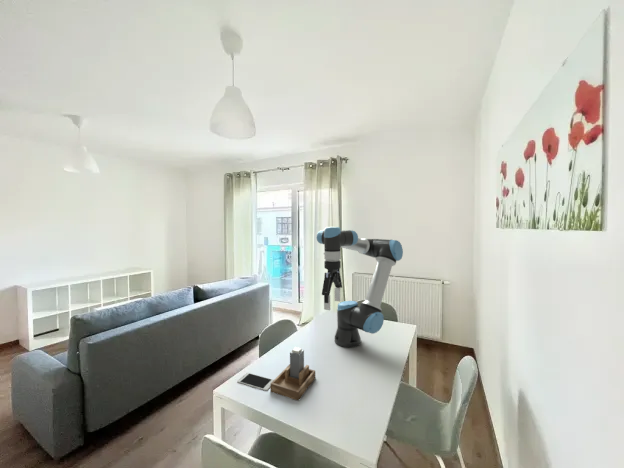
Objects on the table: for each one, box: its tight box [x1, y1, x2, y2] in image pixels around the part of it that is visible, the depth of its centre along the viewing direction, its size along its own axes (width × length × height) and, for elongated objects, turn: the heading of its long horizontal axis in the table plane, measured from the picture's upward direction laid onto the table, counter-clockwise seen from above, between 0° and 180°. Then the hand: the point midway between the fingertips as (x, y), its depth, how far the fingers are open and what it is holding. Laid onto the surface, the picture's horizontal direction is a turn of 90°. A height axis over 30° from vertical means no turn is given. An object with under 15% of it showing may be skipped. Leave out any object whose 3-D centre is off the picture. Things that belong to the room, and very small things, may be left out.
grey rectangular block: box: [289, 346, 305, 379], centre depth 113 cm, size 4×4×13 cm
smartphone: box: [236, 372, 274, 392], centre depth 112 cm, size 7×16×1 cm, turn 67°
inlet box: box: [270, 363, 316, 401], centre depth 110 cm, size 16×13×6 cm
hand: (332, 305), depth 120 cm, fingers open, 13 cm apart
